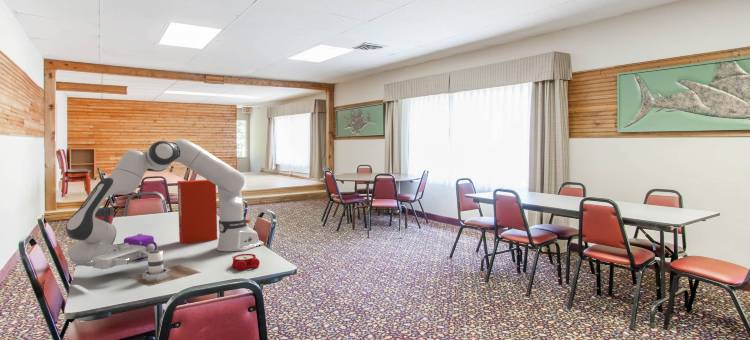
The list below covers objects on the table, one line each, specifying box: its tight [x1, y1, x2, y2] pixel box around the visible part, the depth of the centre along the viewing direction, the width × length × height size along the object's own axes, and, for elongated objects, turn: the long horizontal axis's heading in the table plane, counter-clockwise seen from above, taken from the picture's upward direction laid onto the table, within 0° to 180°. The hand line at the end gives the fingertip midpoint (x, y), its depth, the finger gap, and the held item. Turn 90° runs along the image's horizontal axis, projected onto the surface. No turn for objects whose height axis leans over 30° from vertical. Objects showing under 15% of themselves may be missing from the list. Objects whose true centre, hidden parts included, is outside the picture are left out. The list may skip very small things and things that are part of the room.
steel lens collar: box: [141, 267, 170, 282], centre depth 157 cm, size 9×9×2 cm
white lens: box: [147, 249, 165, 274], centre depth 157 cm, size 5×5×10 cm
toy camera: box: [123, 233, 158, 260], centre depth 190 cm, size 11×14×10 cm
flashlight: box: [95, 206, 115, 225], centre depth 190 cm, size 8×8×23 cm
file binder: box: [177, 179, 218, 245], centre depth 222 cm, size 8×17×32 cm, turn 126°
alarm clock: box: [231, 253, 261, 271], centre depth 175 cm, size 10×6×15 cm
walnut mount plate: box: [127, 264, 202, 287], centre depth 161 cm, size 20×17×1 cm
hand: (137, 258), depth 159 cm, fingers open, 8 cm apart
